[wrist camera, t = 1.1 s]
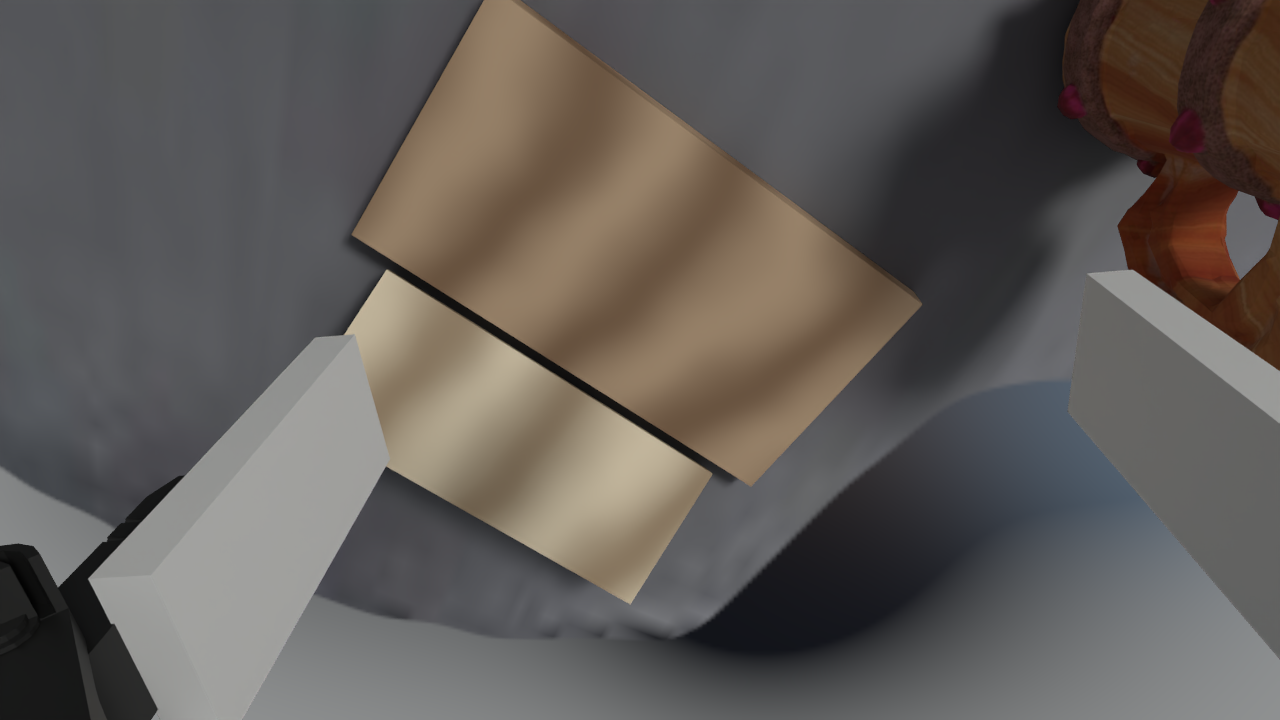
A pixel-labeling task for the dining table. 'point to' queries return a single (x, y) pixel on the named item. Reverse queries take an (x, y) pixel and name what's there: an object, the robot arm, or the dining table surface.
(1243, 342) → the mug
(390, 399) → the plank
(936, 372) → the dining table surface
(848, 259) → the floorboard
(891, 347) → the dining table surface
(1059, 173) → the dining table surface
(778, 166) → the dining table surface
